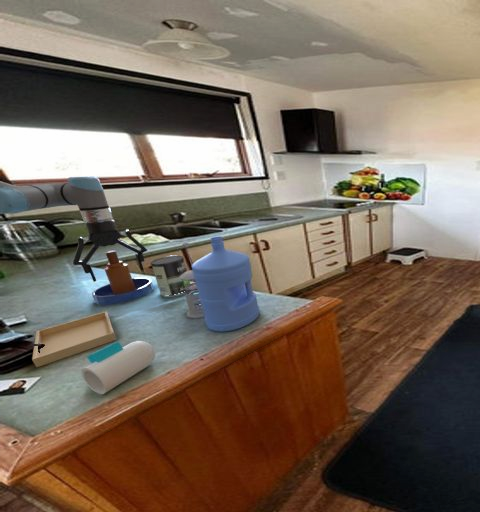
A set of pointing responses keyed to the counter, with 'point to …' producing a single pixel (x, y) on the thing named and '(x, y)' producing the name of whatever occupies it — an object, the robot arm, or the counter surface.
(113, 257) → the bottle
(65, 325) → the tray
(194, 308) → the french press
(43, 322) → the counter surface
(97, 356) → the mug
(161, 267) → the coffee can
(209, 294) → the water jug
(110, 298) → the bowl
